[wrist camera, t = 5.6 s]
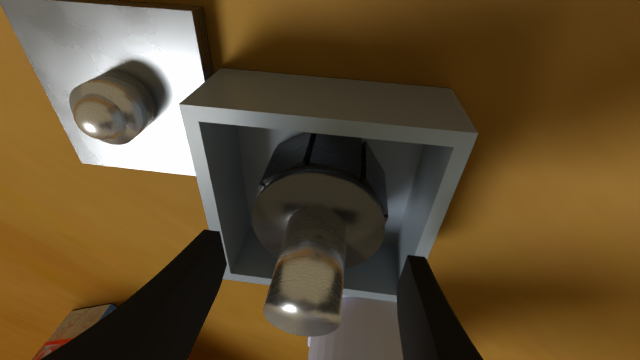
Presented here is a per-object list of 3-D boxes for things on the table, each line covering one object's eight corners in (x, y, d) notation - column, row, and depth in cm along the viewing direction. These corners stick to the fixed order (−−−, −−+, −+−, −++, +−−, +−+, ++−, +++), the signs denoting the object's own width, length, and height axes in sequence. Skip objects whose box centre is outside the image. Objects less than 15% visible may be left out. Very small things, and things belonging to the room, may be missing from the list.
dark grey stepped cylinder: (398, 147, 15) (422, 290, 9) (361, 228, 18) (359, 369, 12) (280, 116, 14) (218, 240, 8) (265, 204, 18) (214, 336, 12)
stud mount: (228, 168, 17) (201, 212, 14) (94, 153, 18) (42, 192, 15) (202, 7, 12) (154, 25, 10) (18, -7, 13) (-79, 6, 10)
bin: (401, 245, 19) (408, 303, 16) (244, 226, 20) (221, 278, 17) (451, 88, 13) (478, 133, 10) (221, 68, 14) (178, 104, 11)
